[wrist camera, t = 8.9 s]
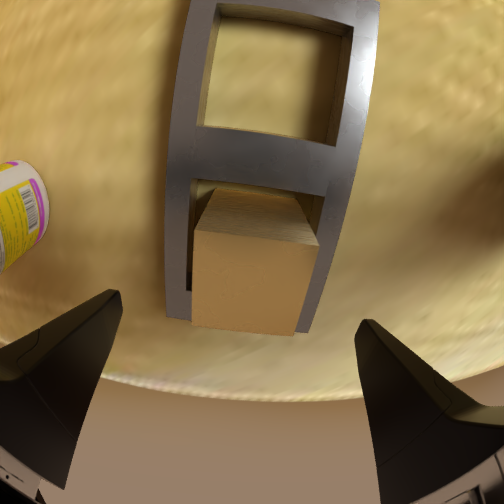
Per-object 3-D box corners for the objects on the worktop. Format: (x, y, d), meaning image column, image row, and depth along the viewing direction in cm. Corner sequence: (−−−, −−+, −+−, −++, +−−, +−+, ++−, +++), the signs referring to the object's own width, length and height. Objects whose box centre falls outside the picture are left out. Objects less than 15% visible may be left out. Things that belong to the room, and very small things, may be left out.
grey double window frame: (366, 12, 10) (379, 2, 8) (303, 313, 19) (307, 333, 17) (205, -15, 9) (199, -30, 7) (173, 298, 18) (166, 316, 16)
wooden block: (296, 198, 15) (319, 245, 10) (281, 268, 17) (292, 336, 12) (215, 188, 15) (194, 229, 10) (209, 259, 17) (191, 325, 12)
